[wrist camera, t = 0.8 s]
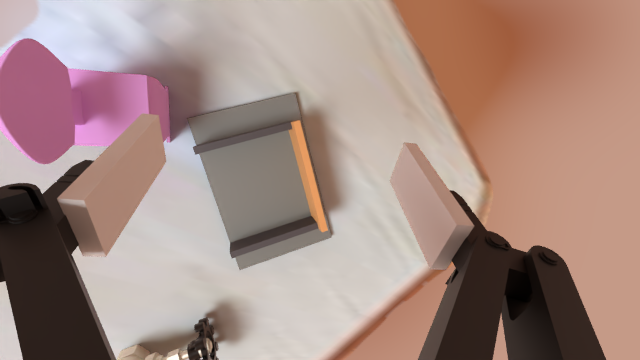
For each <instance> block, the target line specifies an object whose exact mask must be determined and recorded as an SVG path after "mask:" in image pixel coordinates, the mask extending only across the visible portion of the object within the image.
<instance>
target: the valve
mask: <svg viewBox="0 0 640 360" xmlns="http://www.w3.org/2000/svg"><path fill="white" fill-rule="evenodd" d="M194 328H195V332H198V331H200V333H199V337H198V338H197V339H196V340H194V341H192V342H191V343H190V344H188V347H187V350H184V351H182V350H181V349H180V348H178V349H176V350H173V351H171V352H168V355H167V357H165V356H164V355H160V354H159V353H158V352H155V353H153V354H150V351H148V350H146V349H145V348H143V347H141V346H140V345H134V346H132V347H129V348H126V349H124V350H122V351H121V352H120V354H119V356H118V358H117V360H185V359H188V358H189V360H200V358H202V357H203V359H202V360H219V359H218V358H217V357H216V351H218V344H217V342H214V338H213V334H214V328H213V326H209V320H208V318H207V317H206V318H203V319H201V320H199V323H198V324H195V327H194ZM209 354H210V355H209Z"/></svg>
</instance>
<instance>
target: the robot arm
mask: <svg viewBox="0 0 640 360" xmlns="http://www.w3.org/2000/svg"><path fill="white" fill-rule="evenodd" d="M165 163H166V157H165V151H164V145H163V138H162V132H161V126H160V120H159V115H153V114H144V113H142V114H141V115H140V116H139V117H138V118H137V119H136V120H135V121H134V122H133V123H132V124H131V125H130V126H129V127H128V128H127V129H126V130H125V131H124V132H123V133H122V134H121V135H120V136H119V137H118V138H117V139H116V140H115V141H114V142H113V143H112V144H111V145H110V146H109V147H108V148H107V149H106V150H105V151H104V152H103V153H102V154H101V155H100V156H99V157H98V158H97V159H96V160H95V161H92V160H84V161H82V162H80V163H78V164H76V165H74V166H72V167H71V168H70V169H69V170H68V171H67V172H66V173H65V174H64V176H62V177H60V178H59V179H58V180H57V182H55V183H54V184H53V185H52V186H51V187H50V188H49V189H47V190H46V191H45V192H44V193H43V194H42V193H41V191H40V189H39V188H38V187H37V186H36V185H33V184H29V183H17V184H11V185H6V186H3V187H0V282H3V281H6V285H7V290H8V294H9V299H10V303H11V308H12V312H13V316H14V321H15V325H16V330H17V334H18V339H19V343H20V348H21V352H22V357H23V360H116V358H115V356H114V353H113V351H112V349H111V346H110V344H109V342H108V339H107V337H106V334H105V332H104V330H103V327H102V325H101V323H100V320H99V318H98V316H97V313H96V311H95V308H94V306H93V304H92V301H91V299H90V297H89V294H88V292H87V289H86V287H85V285H84V282H83V280H82V278H81V275H80V273H79V271H78V268H77V266H76V263H75V261H74V259H73V257H72V255H71V254H72V253H73V251H74V250H75V249H76V247H77V246H79V248H80V251H81V253H82V255H83V256H96V257H106V256H107V254H108V253H109V251H110V249H111V248H112V246H113V245H114V243H115V242H116V240H117V238H118V237H119V235H120V234H121V232H122V231H123V229H124V227H125V226H126V224H127V223H128V221H129V219H130V218H131V216H132V215H133V213H134V212H135V210H136V208H137V207H138V205H139V204H140V202H141V200H142V199H143V197H144V196H145V194H146V193H147V191H148V189H149V188H150V186H151V185H152V183H153V181H154V180H155V178H156V177H157V175H158V174H159V172H160V170H161V169H162V167H163V166H164V164H165ZM390 183H391V185H392V187H393V189H394V192H395V194H396V196H397V198H398V200H399V202H400V205H401V207H402V209H403V211H404V213H405V215H406V218H407V220H408V222H409V224H410V226H411V228H412V231H413V233H414V235H415V237H416V239H417V241H418V244H419V246H420V248H421V250H422V252H423V254H424V257H425V259H426V261H427V263H428V265H429V267H430V269H439V270H446V269H447V267H448V266H449V264H450V263H451V261H452V262H453V263H454V265H455V267H456V269H455V270H454V272H453V273H452V275H451V276H450V278H449V279H448V280H447V282H446V284H447V285H448V286H447V288H446V291H445V293H444V296H443V298H442V301H441V303H440V306H439V308H438V311H437V313H436V316H435V318H434V321H433V323H432V326H431V328H430V331H429V333H428V336H427V338H426V341H425V343H424V346H423V348H422V351H421V353H420V356H419V358H418V360H492V359H493V354H494V348H495V343H496V337H497V331H498V326H499V320H500V315H501V313H502V320H503V327H504V334H505V340H506V347H507V354H508V360H606V358H605V356H604V353H603V351H602V348H601V346H600V344H599V341H598V339H597V337H596V335H595V332H594V329H593V327H592V325H591V322H590V320H589V317H588V315H587V313H586V310H585V308H584V305H583V303H582V301H581V299H580V296H579V293H578V291H577V289H576V286H575V284H574V282H573V279H572V277H571V274H570V272H569V269H568V267H567V265H566V263H565V262H564V260H563V259H562V258H561V257H560V256H559V255H558V254H557V253H555V252H554V251H552V250H550V249H548V248H546V247H542V246H533V247H532V248H531V249H530V250H529V251H528V252H523V251H520V250H517V249H513V248H512V247H511V246H510V244H509V243H508V242H507V241H506V240H505V239H504V238H503V237H501V236H500V235H498V234H496V233H494V232H491V231H487V230H486V229H485V227H484V226H483V225H482V223H481V222H480V221H479V219H478V218H477V217H476V215H475V214H474V213H473V212H472V210H471V209H470V207H469V206H468V205H467V203H466V202H465V200H464V199H463V198H462V197H461V196H460V195H458V194H457V193H456V192H455V191H451V190H449V189H448V188H447V186H446V185H445V184H444V182H443V181H442V179H441V178H440V177H439V175H438V174H437V172H436V171H435V169H434V168H433V167H432V165H431V164H430V162H429V161H428V160H427V158H426V157H425V155H424V154H423V153H422V151H421V150H420V148H419V147H418V145H417V144H413V143H404V144H403V146H402V149H401V152H400V155H399V157H398V160H397V163H396V165H395V168H394V171H393V173H392V176H391V179H390Z"/></svg>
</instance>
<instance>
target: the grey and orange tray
mask: <svg viewBox="0 0 640 360" xmlns="http://www.w3.org/2000/svg"><path fill="white" fill-rule="evenodd" d="M187 120H188V123H189V125H190V128H191V131H192V134H193V137H194V140H195V143H196V146H195V147H193V149H194V152H195V155H196V154H200V157H201V160H202V163H203V166H204V169H205V171H206V174H207V177H208V180H209V183H210V186H211V189H212V192H213V194H214V197H215V200H216V203H217V206H218V209H219V212H220V215H221V217H222V220H223V223H224V226H225V229H226V232H227V235H228V238H229V240H230V254H231V257H232V258H236V261H237V263H238V266H239V269H240V270H241V269H244V268H247V267H250V266H252V265H255V264H258V263H261V262H264V261H266V260H269V259H272V258H275V257H278V256H281V255H283V254H286V253H289V252H292V251H295V250H297V249H300V248H303V247H306V246H309V245H311V244H314V243H317V242H320V241H323V240H325V239H328V238H331V233H330V229H329V225H328V221H327V217H326V213H325V209H324V205H323V201H322V197H321V193H320V189H319V185H318V181H317V177H316V173H315V169H314V165H313V161H312V157H311V154H310V150H309V146H308V142H307V138H306V134H305V130H304V126H303V122H302V118H301V114H300V110H299V106H298V102H297V98H296V94H295V93H293V94H288V95H284V96H280V97H276V98H271V99H267V100H263V101H259V102H254V103H250V104H246V105H242V106H238V107H233V108H229V109H225V110H221V111H216V112H212V113H208V114H204V115H200V116H195V117H191V118H187Z"/></svg>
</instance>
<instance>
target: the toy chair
mask: <svg viewBox="0 0 640 360" xmlns="http://www.w3.org/2000/svg"><path fill="white" fill-rule="evenodd" d="M142 113H144V114H153V115H159V120H160V126H161V132H162V138H163V142H164V141H165V140H166V138H167V142H170V118H169V93H168V86H165V88H164V87H163V86H162V84H161V83H160V82H159V81H158V80H157V79H155V78H153V77H149V76H147V75H139V74H126V73H113V72H102V71H91V70H80V69H68V68H67V67H66V66H65V65H64V64H63V63H62V62H61V61H60V60H59V59H58V58H56V57H55V56H54V55H53V54H52V53H51V52H50V51H49V50H48V49H47V48H46V47H44V46H43V45H42V44H40V43H39V42H37V41H35V40H33V39H22V40H19V41H17V42H16V43H14V44H13V45H12V46H11V47H9V48H8V49H7V51H6V52H5V53H4V54H3V55H2V56H1V57H0V130H1V131H2V132H3V134H4V135H5V136H6V137H7V138H8V139H9V140H10V141H11V143H12V144H13V145H14V146H15V147H17V148H18V149H19V150H20V151H21V152H22V153H23V154H24V155H26V156H27V157H28V158H29V159H31V160H33V161H35V162H37V163H40V164H49V163H51V162H53V161H55V160H57V159H58V158H59V157H60V156H62V155H63V154H64V153H65V152H66V151H67V150H68V149H69V148H70V147H71V146H73V145H85V146H110V145H111V144H112V143H113V142H114V141H115V140H116V139H117V138H118V137H119V136H120V135H121V134H122V133H123V132H124V131H125V130H126V129H127V128H128V127H129V126H130V125H131V124H132V123H133V122H134V121H135V120H136V119H137V118H138V117H139V116H140V115H141V114H142Z"/></svg>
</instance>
